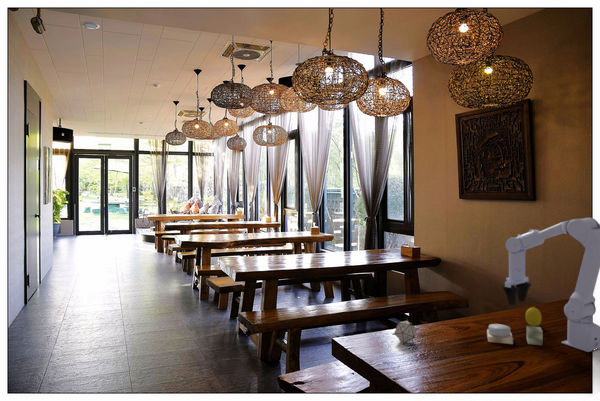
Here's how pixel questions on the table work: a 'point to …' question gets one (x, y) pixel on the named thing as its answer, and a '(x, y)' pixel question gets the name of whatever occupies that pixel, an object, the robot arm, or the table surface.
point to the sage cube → (534, 335)
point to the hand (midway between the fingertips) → (517, 302)
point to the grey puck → (499, 330)
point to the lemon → (533, 317)
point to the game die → (405, 331)
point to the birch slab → (500, 339)
